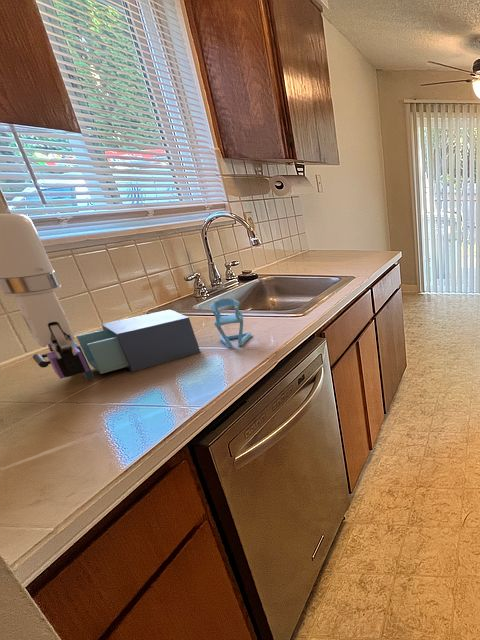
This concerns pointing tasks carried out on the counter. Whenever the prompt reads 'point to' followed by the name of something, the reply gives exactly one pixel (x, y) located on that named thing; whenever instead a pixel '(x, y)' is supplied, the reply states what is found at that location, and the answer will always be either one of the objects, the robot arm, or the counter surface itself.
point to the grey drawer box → (154, 338)
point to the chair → (229, 321)
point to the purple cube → (56, 367)
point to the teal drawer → (96, 352)
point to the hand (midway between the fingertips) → (71, 370)
